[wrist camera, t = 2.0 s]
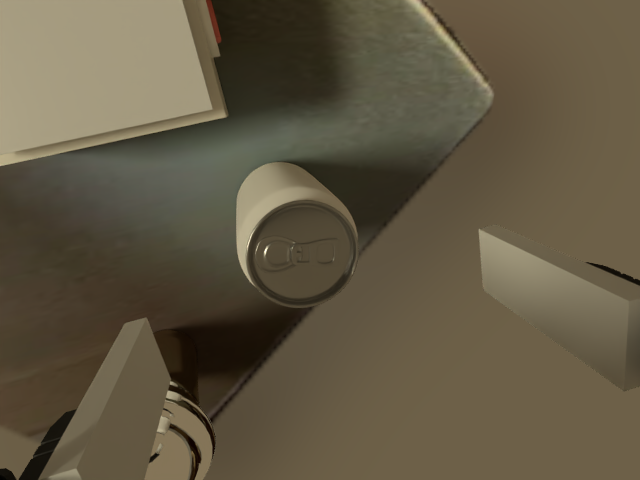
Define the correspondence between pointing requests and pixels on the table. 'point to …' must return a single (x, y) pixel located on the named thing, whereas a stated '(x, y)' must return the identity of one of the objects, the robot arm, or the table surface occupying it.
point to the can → (294, 236)
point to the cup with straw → (181, 416)
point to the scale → (103, 72)
